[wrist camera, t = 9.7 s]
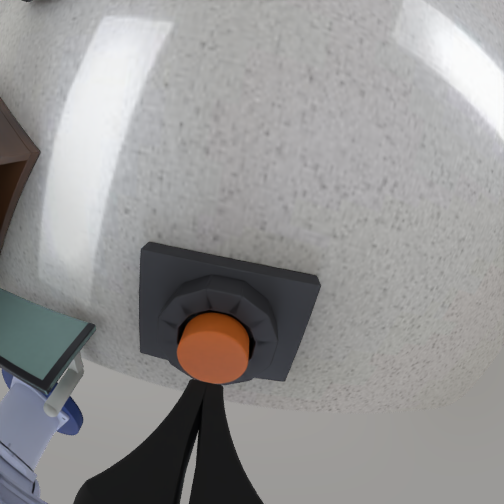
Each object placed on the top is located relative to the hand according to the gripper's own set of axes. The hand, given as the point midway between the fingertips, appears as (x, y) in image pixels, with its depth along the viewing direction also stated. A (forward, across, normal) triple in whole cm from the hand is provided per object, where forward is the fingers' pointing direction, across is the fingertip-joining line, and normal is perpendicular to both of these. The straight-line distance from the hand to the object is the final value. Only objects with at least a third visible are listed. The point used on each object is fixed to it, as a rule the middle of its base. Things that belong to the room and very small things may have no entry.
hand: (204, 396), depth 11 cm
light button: (+4, 0, 0) cm, 4 cm away
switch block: (+7, 0, 0) cm, 7 cm away
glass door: (+6, +15, +5) cm, 17 cm away
